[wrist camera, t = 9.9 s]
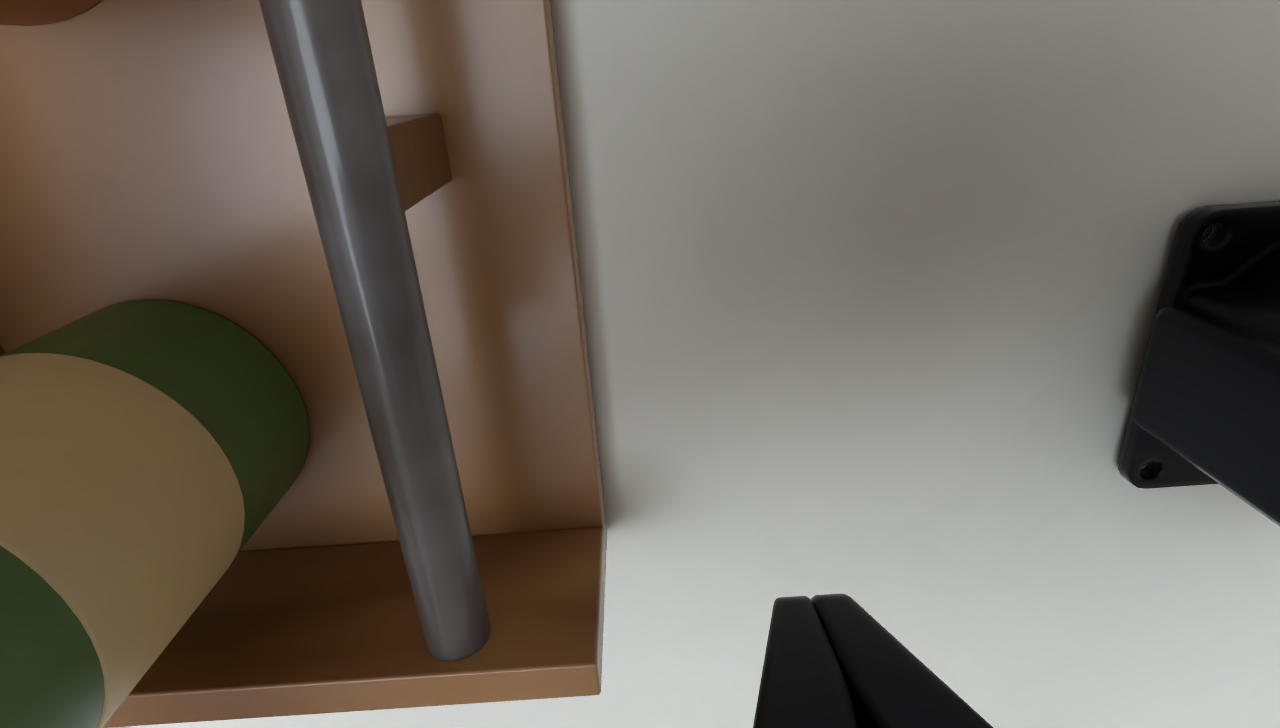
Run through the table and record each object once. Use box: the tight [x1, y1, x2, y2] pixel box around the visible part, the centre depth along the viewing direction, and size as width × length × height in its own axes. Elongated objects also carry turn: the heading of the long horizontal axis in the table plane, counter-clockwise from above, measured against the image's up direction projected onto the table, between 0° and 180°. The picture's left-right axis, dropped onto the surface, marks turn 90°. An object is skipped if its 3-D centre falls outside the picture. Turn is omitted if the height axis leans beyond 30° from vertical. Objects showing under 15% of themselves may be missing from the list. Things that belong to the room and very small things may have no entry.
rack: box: [0, 0, 607, 728], centre depth 11 cm, size 12×19×5 cm, turn 4°
